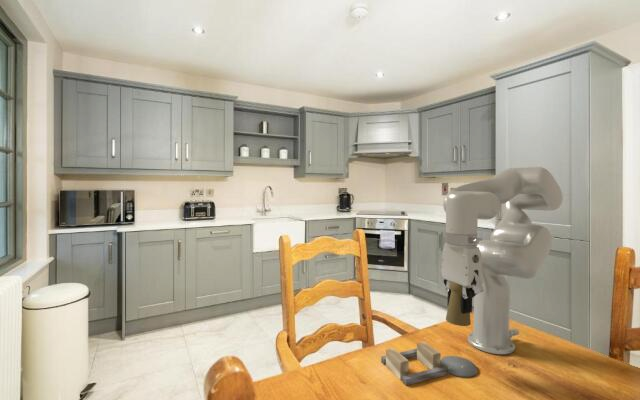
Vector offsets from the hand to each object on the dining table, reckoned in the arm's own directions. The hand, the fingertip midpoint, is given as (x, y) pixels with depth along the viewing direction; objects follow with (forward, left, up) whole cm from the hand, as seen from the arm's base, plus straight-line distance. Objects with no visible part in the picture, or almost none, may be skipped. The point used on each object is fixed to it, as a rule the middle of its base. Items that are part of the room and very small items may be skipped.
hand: (459, 308), depth 84 cm
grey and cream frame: (+11, -4, -16) cm, 20 cm away
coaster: (0, 0, -16) cm, 16 cm away
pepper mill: (0, 0, -3) cm, 3 cm away
